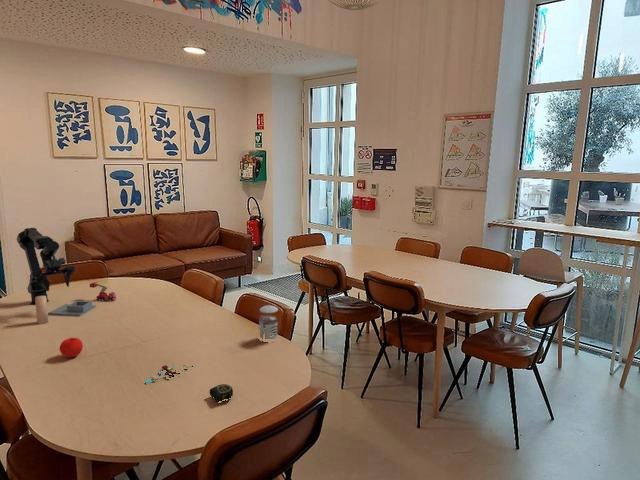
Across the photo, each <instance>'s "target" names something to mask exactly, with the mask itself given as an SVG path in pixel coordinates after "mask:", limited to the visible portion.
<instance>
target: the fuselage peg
mask: <svg viewBox="0 0 640 480" xmlns="http://www.w3.org/2000/svg"><path fill="white" fill-rule="evenodd" d="M35 303H36V304H35V310H36V311H35V313H36V323H37V325H46V324H47V323H49V315H48V313H49V312H48V302H47V299H46V296H37V297H35Z"/></svg>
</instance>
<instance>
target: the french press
mask: <svg viewBox="0 0 640 480" xmlns="http://www.w3.org/2000/svg"><path fill="white" fill-rule="evenodd" d="M266 287H267V289H268V290H270V289H271V288H272V285H271V284H267V286H266ZM259 311H260V313H263V314H268V315H263V314H261V316H260V317H259V320H258V322H259V323H258V329H259V336H260V337H261V338H262V339H263V334H264V333H265V339H275V338H277V336H278V318H277V317H276V316H274V315H270V314H274V313H277V312H278V311H279V308H278V307H276V306H274V305H270V304H268V305H263V306H262V307H261V308H259ZM271 333H273V334H271ZM270 334H271V335H270ZM272 335H274V336H272ZM270 336H272V337H270Z"/></svg>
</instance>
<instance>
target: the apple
mask: <svg viewBox="0 0 640 480" xmlns="http://www.w3.org/2000/svg"><path fill="white" fill-rule="evenodd" d="M83 348H84V345H83V341H82V340H81V339H79V338H78V337H70V338H66V339H64V340H63V341H62V342H61V343H60V345H59V348H58V350H59V352H60V354H61V355H63V356H65V357H66V358H75V357H77V356H79V355H80V354H81V352H82V351H83Z"/></svg>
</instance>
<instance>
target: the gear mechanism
mask: <svg viewBox="0 0 640 480" xmlns="http://www.w3.org/2000/svg"><path fill="white" fill-rule="evenodd" d="M190 365H191V364H190V363H184V364H183V367H184V366H186V367H187V368H188V367H191V366H190ZM172 367H173V368H170V367H169V366H167V365H162V366H161V369H162V370H166V371H167V373H168V372H169V373H171V374H172V375H173V374H176V375H177V373H176V371H175V370H174V367H175V363H174V362H172ZM191 368H192V367H191ZM160 371H161V370H159V371H158V372H160ZM169 373H168V374H169ZM160 374H162V375H164V376H167V375H165V374H166V373H165V374H164V373H162V372H161V373H160ZM172 375H171V376H172ZM158 377H159V376H156V375H155V374H154V375H151V376H150V379H148V380H146V381H144V384H145V383H148V382H150V381H153V380H155V381H156V380H158V379H159V378H158ZM168 377H170V376H168ZM151 378H152V379H151ZM159 380H160V379H159Z"/></svg>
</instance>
